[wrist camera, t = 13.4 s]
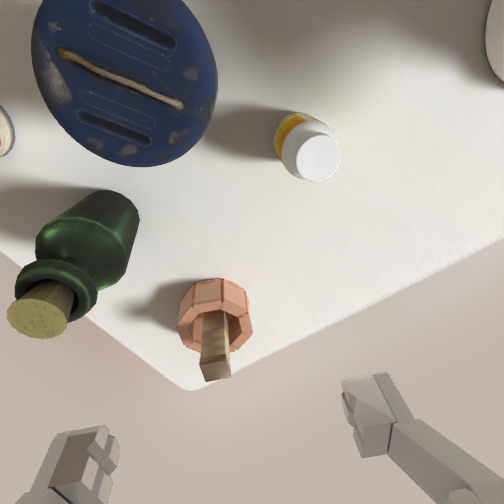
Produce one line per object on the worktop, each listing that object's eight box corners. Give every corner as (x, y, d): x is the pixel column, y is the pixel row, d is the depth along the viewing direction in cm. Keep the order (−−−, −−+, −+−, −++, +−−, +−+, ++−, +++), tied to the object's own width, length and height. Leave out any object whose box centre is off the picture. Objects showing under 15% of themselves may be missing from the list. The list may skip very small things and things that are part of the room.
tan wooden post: (224, 298, 44) (225, 360, 35) (228, 314, 46) (230, 377, 37) (203, 302, 44) (199, 365, 35) (208, 318, 46) (205, 381, 37)
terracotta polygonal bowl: (242, 273, 43) (245, 295, 39) (253, 323, 48) (256, 347, 44) (173, 286, 43) (168, 309, 39) (191, 335, 48) (189, 360, 44)
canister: (185, 146, 34) (159, 211, 18) (101, 87, 30) (-20, 106, 15) (236, 65, 30) (256, 61, 15) (148, -12, 26) (54, -125, 11)
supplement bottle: (321, 112, 33) (355, 126, 25) (315, 161, 36) (344, 189, 28) (272, 111, 33) (291, 125, 24) (270, 162, 35) (285, 189, 27)
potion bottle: (71, 177, 34) (-48, 266, 19) (147, 187, 35) (94, 278, 20) (79, 241, 38) (-14, 356, 23) (146, 247, 39) (102, 360, 24)
